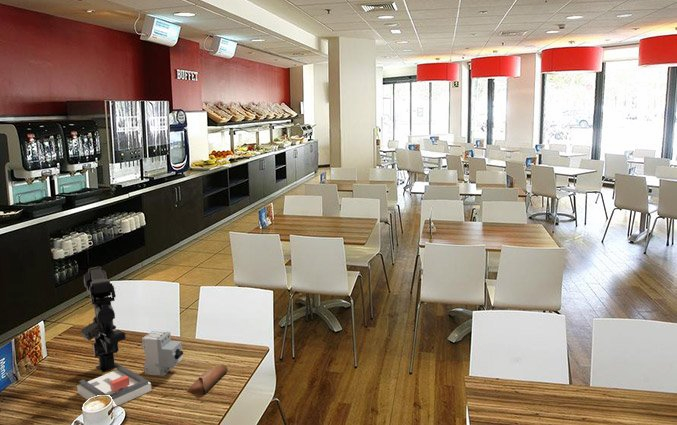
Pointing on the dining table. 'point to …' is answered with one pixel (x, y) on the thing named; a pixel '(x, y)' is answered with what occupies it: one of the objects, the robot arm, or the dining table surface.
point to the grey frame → (122, 392)
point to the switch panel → (104, 386)
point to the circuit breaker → (160, 352)
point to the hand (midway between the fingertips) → (108, 352)
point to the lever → (119, 383)
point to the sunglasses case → (207, 380)
